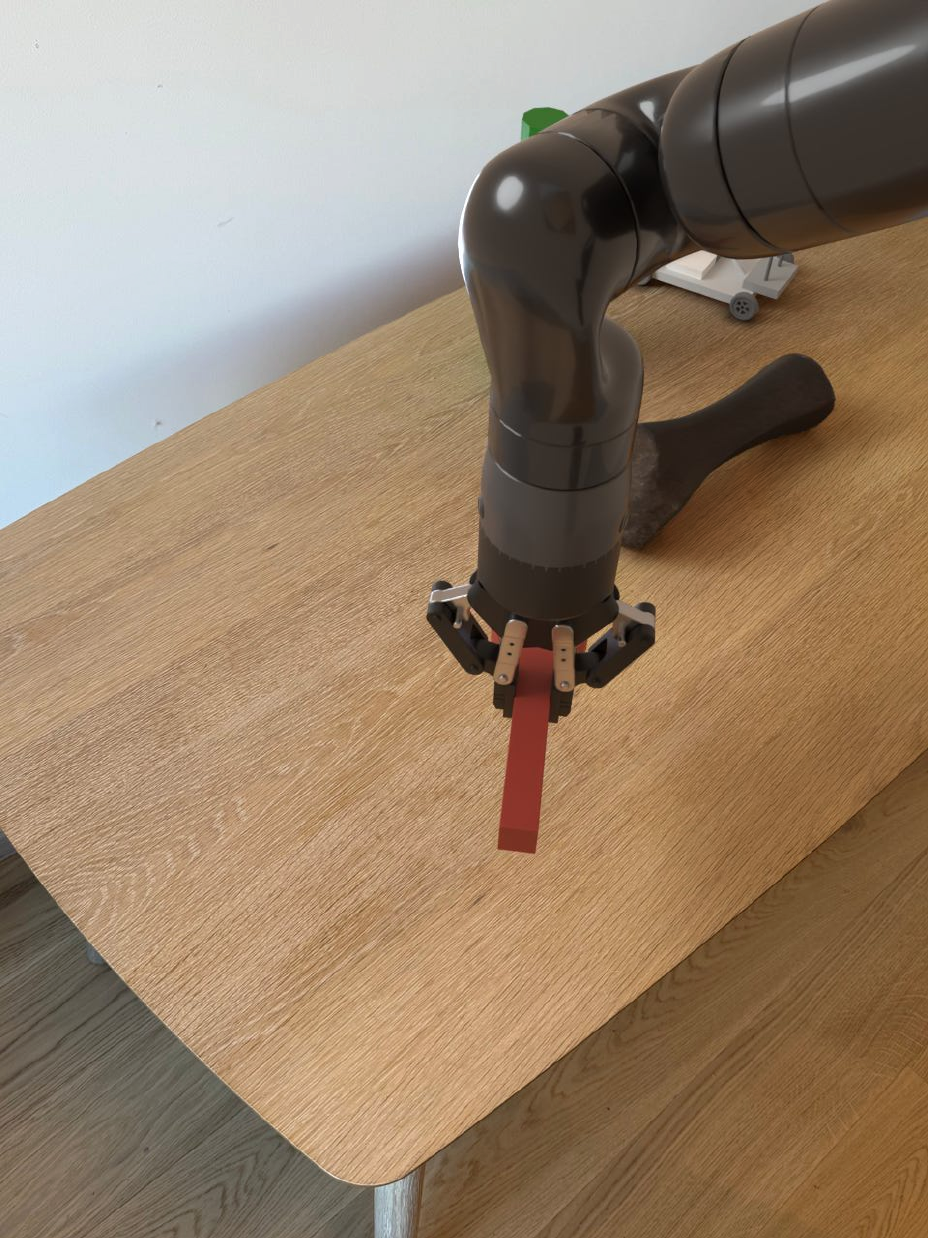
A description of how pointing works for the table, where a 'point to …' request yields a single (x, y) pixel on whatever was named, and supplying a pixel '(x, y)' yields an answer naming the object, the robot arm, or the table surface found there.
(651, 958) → the table surface
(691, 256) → the toy car
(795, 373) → the dark brown bone
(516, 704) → the red flat paddle piece
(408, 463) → the table surface
